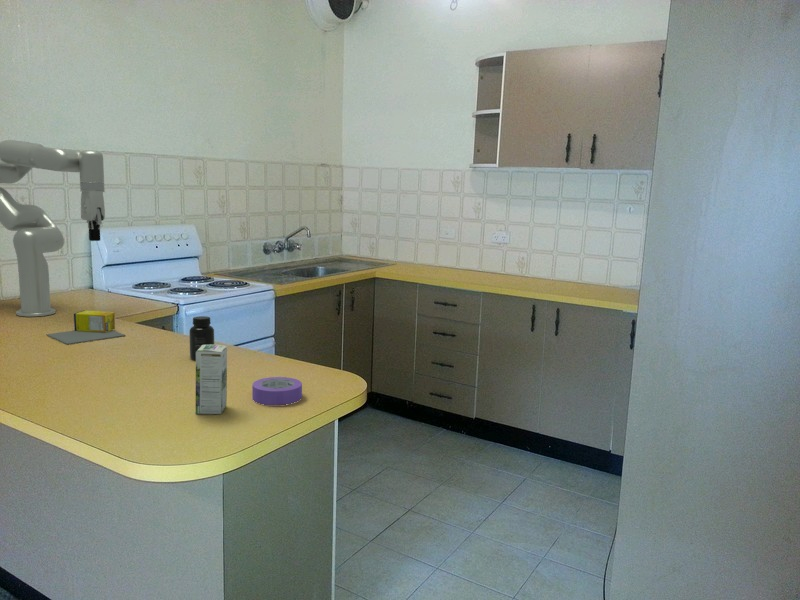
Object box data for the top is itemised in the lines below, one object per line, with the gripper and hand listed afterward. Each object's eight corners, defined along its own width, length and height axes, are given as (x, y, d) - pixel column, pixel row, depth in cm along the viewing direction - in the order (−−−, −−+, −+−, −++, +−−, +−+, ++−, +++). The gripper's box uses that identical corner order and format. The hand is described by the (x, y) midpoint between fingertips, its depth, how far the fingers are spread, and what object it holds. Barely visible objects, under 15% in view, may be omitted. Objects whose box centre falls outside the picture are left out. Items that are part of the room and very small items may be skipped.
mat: (46, 335, 199) (46, 334, 199) (103, 327, 212) (103, 326, 212) (67, 344, 189) (67, 343, 188) (125, 336, 202) (125, 334, 202)
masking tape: (256, 390, 155) (256, 375, 154) (303, 391, 156) (303, 376, 155) (248, 406, 143) (248, 390, 143) (299, 407, 144) (299, 391, 144)
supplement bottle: (219, 357, 182) (219, 317, 180) (203, 362, 176) (202, 321, 174) (201, 353, 185) (200, 314, 183) (184, 358, 179) (183, 318, 177)
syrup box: (201, 405, 142) (200, 343, 139) (227, 406, 142) (227, 344, 140) (195, 414, 136) (194, 350, 134) (222, 414, 137) (222, 350, 134)
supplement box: (84, 327, 210) (115, 329, 209) (74, 331, 204) (105, 333, 204) (83, 309, 209) (115, 311, 208) (73, 313, 203) (105, 315, 203)
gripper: (73, 186, 218) (75, 239, 221) (89, 187, 208) (91, 242, 211) (95, 187, 223) (97, 238, 226) (112, 188, 213) (114, 242, 216)
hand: (94, 240), depth 218 cm, fingers closed
